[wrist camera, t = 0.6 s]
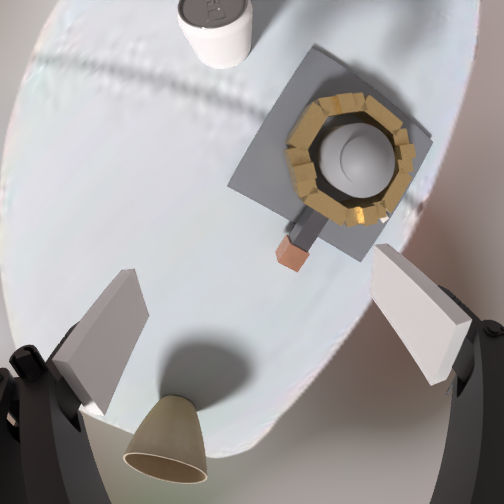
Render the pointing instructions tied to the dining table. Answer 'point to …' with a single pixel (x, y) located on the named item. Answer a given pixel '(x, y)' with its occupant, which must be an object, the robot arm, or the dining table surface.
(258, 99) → the dining table surface
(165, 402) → the plant pot
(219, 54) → the can
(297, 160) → the ring nut
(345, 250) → the base
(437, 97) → the dining table surface
